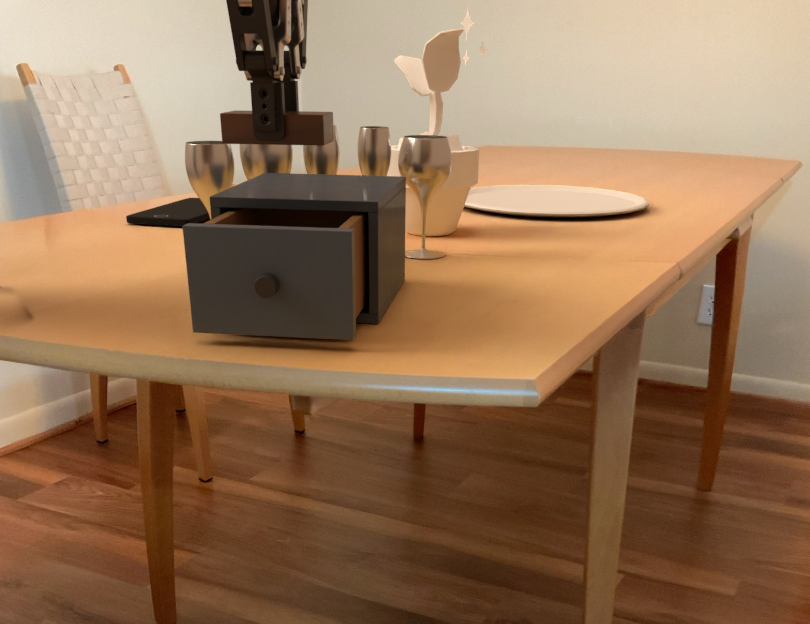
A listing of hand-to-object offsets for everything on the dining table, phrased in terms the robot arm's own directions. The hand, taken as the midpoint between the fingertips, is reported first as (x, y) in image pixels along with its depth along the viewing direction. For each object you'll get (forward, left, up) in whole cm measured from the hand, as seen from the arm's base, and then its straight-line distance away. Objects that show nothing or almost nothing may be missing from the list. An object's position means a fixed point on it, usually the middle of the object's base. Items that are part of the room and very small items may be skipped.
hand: (277, 136), depth 67 cm
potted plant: (+22, +43, -14) cm, 50 cm away
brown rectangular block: (0, 0, 0) cm, 0 cm away
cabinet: (+4, +11, -14) cm, 18 cm away
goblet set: (+7, +27, -14) cm, 31 cm away
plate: (+45, +62, -14) cm, 78 cm away
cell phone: (-7, +60, -14) cm, 62 cm away
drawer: (+1, +2, -13) cm, 14 cm away
